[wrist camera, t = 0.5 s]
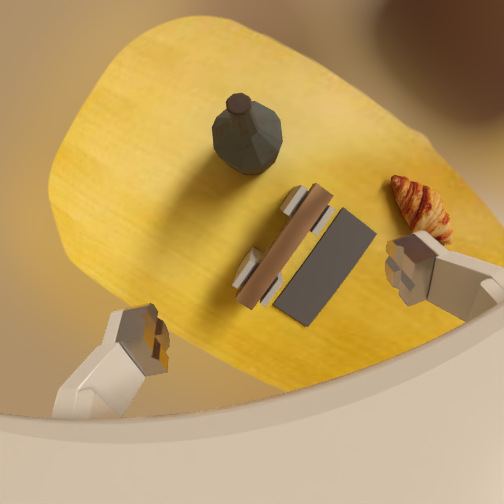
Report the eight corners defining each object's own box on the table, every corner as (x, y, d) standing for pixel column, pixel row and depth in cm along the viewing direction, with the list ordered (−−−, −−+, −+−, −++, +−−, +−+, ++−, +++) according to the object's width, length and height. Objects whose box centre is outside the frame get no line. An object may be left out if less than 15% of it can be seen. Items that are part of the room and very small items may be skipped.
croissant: (445, 229, 59) (469, 221, 52) (435, 263, 56) (462, 257, 49) (387, 169, 57) (411, 153, 49) (373, 201, 54) (399, 187, 46)
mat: (375, 233, 57) (376, 234, 56) (307, 325, 61) (307, 326, 60) (342, 207, 56) (343, 207, 55) (273, 303, 60) (273, 304, 60)
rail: (329, 195, 46) (333, 195, 43) (252, 303, 50) (251, 310, 47) (313, 183, 46) (316, 183, 43) (236, 293, 50) (234, 299, 47)
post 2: (320, 206, 56) (335, 209, 44) (305, 227, 57) (316, 236, 45) (293, 187, 56) (301, 185, 43) (278, 208, 56) (283, 212, 44)
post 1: (279, 264, 59) (283, 282, 46) (264, 284, 60) (265, 306, 47) (252, 246, 58) (249, 260, 46) (238, 266, 59) (232, 285, 47)
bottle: (248, 185, 56) (231, 175, 26) (214, 149, 55) (166, 105, 25) (288, 151, 54) (314, 106, 25) (254, 115, 53) (245, 41, 24)
